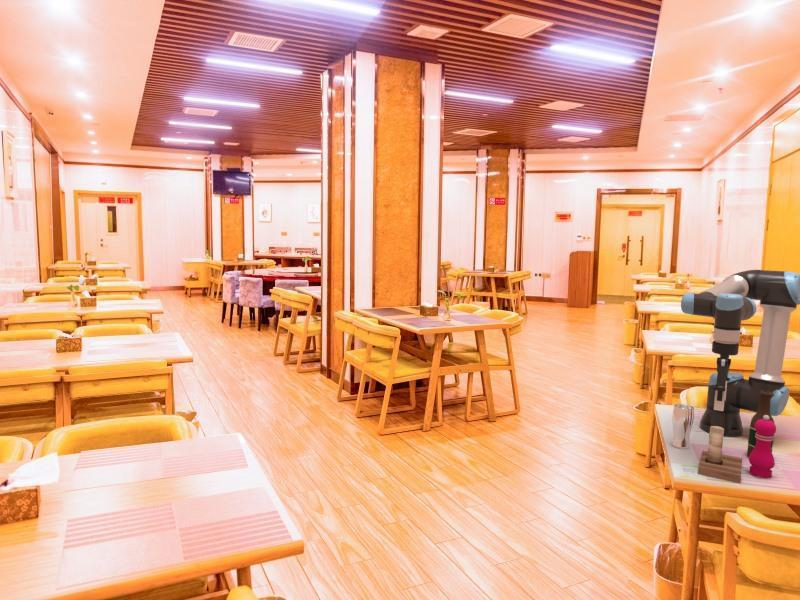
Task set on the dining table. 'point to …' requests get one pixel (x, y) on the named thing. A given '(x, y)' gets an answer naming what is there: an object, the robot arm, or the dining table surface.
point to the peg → (715, 445)
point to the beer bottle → (762, 410)
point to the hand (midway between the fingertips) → (719, 404)
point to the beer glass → (682, 425)
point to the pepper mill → (763, 449)
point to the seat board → (721, 467)
